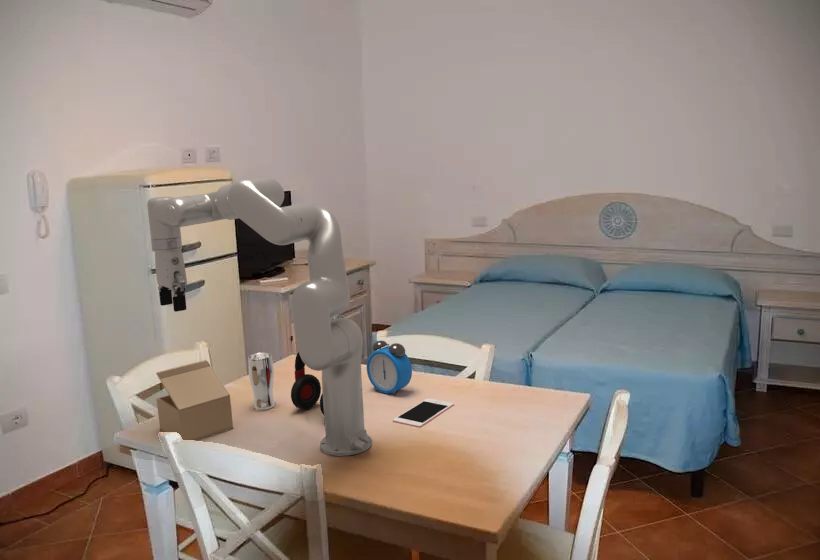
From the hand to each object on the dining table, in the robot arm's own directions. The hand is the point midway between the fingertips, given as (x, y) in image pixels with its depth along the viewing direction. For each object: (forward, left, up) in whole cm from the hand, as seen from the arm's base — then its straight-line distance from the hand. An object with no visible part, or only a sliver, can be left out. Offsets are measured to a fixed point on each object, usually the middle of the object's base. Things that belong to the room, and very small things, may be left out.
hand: (173, 307), depth 186 cm
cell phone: (-47, -47, -32) cm, 73 cm away
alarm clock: (-27, -52, -32) cm, 66 cm away
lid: (-10, +1, -19) cm, 22 cm away
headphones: (-26, -28, -32) cm, 49 cm away
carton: (-10, +1, -32) cm, 33 cm away
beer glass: (-9, -20, -32) cm, 38 cm away
